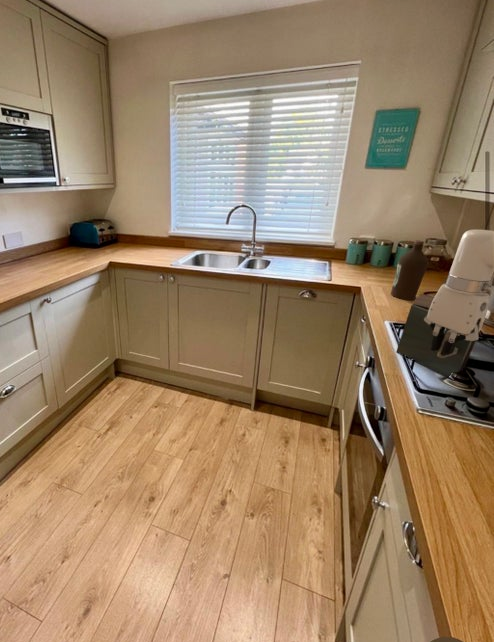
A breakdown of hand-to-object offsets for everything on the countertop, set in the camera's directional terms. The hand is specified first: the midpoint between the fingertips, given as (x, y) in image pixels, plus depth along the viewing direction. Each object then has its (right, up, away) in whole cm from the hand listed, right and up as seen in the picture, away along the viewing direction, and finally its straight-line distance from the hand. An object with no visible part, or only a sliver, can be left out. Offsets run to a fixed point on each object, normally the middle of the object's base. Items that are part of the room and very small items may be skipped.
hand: (440, 351), depth 84 cm
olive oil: (+33, +15, +64) cm, 74 cm away
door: (+1, -6, +10) cm, 11 cm away
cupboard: (+11, -3, +17) cm, 20 cm away
